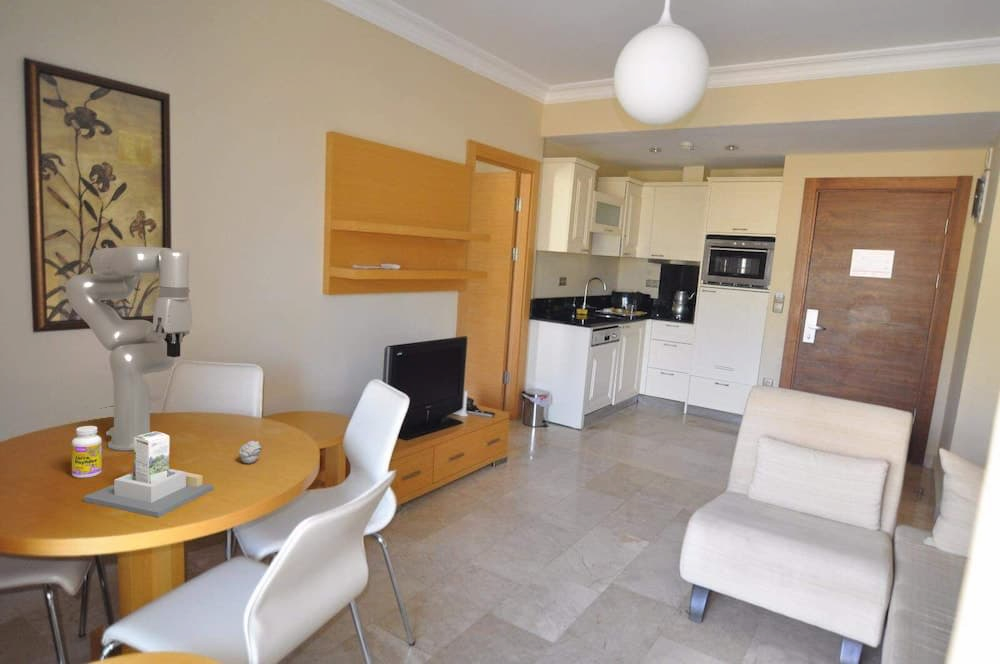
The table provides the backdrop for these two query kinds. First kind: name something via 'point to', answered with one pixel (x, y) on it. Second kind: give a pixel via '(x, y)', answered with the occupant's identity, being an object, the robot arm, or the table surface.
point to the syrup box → (151, 457)
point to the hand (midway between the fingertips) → (173, 356)
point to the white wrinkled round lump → (250, 452)
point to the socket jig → (151, 493)
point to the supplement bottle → (86, 452)
